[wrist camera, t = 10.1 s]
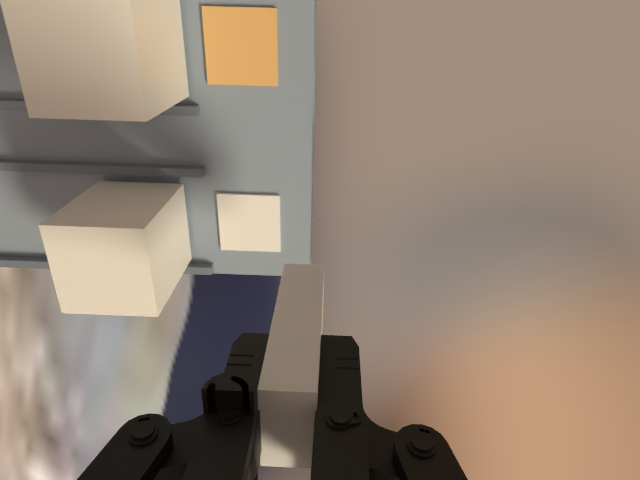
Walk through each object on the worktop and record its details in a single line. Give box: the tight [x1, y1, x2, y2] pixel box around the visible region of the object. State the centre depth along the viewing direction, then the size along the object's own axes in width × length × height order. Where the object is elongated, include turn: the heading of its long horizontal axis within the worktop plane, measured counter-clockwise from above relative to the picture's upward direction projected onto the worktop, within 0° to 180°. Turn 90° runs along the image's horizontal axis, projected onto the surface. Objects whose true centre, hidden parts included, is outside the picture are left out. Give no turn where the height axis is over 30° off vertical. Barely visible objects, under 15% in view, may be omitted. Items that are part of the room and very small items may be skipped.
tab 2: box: [38, 181, 192, 317], centre depth 21 cm, size 4×4×5 cm
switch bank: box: [0, 0, 316, 276], centre depth 22 cm, size 14×26×2 cm, turn 89°
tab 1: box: [0, 0, 189, 122], centre depth 17 cm, size 4×4×5 cm
